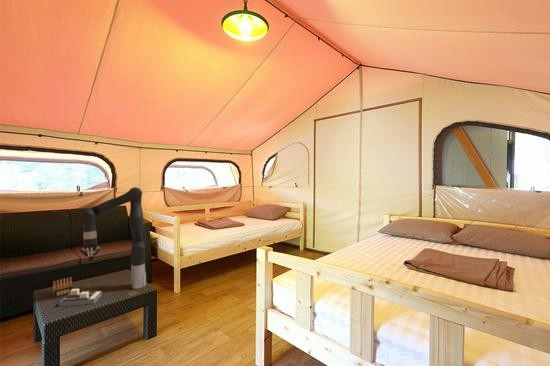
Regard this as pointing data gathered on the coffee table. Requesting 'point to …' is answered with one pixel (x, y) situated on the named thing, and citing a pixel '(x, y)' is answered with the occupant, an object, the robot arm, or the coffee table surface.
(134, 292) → the coffee table surface
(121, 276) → the coffee table surface
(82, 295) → the switch
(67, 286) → the ammunition clip
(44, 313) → the coffee table surface
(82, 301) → the switch panel
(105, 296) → the coffee table surface
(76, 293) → the switch
